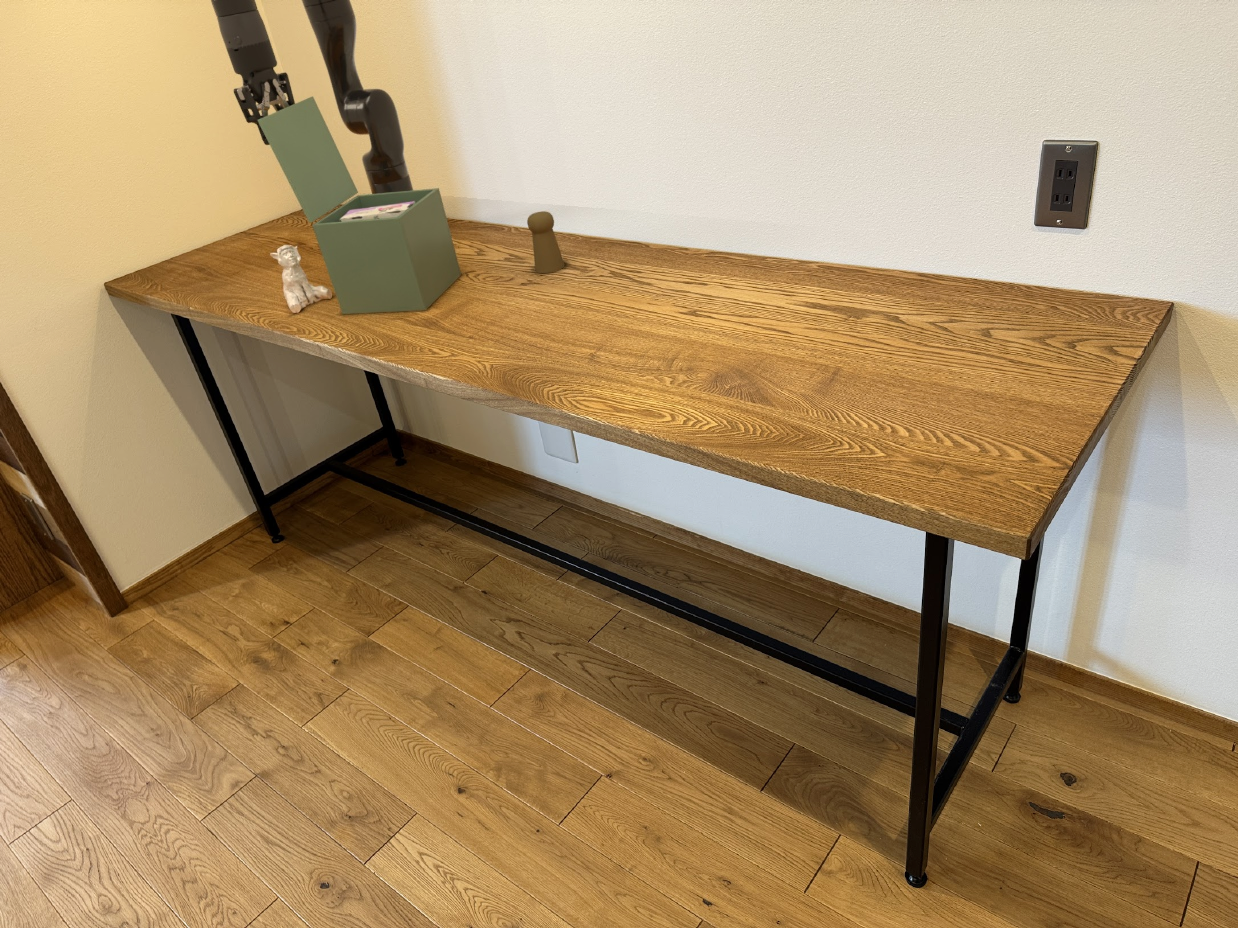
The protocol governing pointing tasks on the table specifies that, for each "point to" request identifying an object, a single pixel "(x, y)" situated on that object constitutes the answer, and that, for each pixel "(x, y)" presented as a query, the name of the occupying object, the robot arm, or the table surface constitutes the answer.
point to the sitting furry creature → (297, 280)
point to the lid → (309, 157)
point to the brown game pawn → (544, 243)
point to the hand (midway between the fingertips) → (280, 139)
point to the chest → (389, 254)
